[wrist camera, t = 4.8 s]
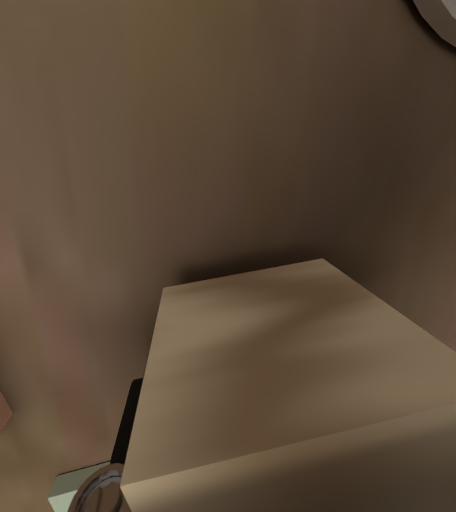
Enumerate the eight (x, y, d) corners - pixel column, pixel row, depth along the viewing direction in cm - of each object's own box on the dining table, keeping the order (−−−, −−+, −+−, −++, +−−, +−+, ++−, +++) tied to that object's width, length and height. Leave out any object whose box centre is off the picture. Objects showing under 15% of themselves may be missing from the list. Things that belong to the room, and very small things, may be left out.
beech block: (322, 258, 10) (509, 390, 4) (323, 378, 12) (445, 574, 6) (163, 287, 9) (119, 486, 3) (194, 407, 11) (197, 650, 6)
